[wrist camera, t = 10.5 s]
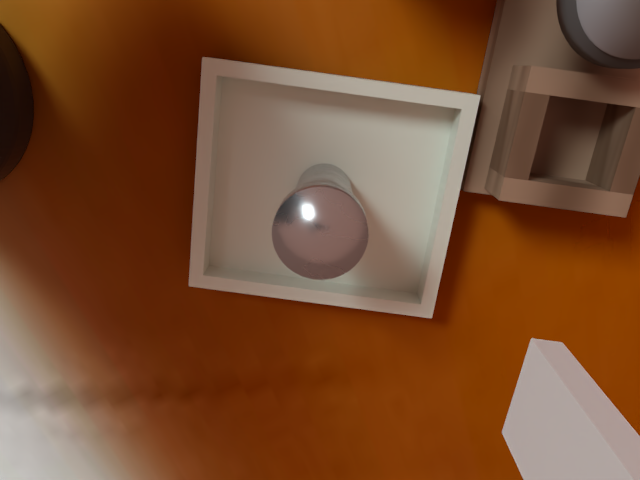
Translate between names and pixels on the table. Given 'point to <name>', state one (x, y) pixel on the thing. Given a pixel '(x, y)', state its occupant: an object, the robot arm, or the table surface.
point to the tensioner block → (559, 106)
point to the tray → (337, 149)
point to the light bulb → (320, 225)
